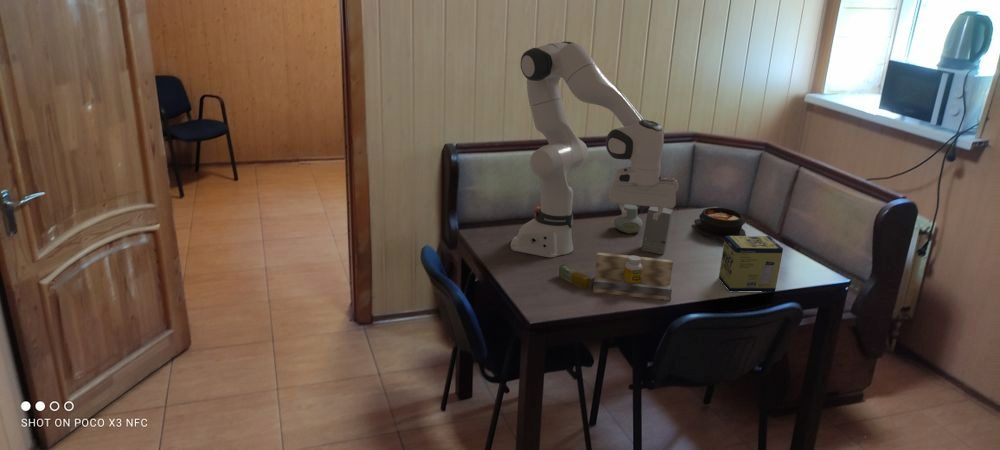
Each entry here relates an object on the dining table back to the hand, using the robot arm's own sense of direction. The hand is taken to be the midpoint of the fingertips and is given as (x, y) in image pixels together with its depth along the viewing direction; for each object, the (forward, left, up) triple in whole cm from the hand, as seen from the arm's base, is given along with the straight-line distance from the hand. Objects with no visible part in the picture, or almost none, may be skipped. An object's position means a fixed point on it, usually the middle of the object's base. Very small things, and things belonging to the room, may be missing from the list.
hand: (639, 218), depth 222 cm
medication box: (-18, 0, -24) cm, 31 cm away
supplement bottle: (0, 0, -23) cm, 23 cm away
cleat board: (0, 0, -24) cm, 24 cm away
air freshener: (-2, +52, -24) cm, 57 cm away
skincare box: (+8, +35, -24) cm, 43 cm away
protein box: (+37, +12, -24) cm, 46 cm away
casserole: (+33, +58, -24) cm, 71 cm away
